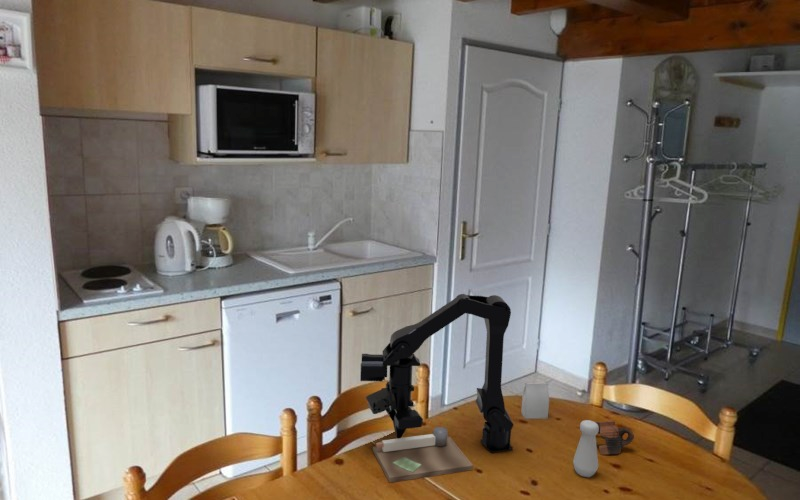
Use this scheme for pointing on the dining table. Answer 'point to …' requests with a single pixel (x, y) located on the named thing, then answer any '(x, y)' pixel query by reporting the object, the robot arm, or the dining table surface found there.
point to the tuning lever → (415, 441)
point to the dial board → (422, 461)
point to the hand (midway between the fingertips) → (398, 437)
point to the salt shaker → (587, 450)
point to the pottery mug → (613, 437)
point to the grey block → (535, 401)
